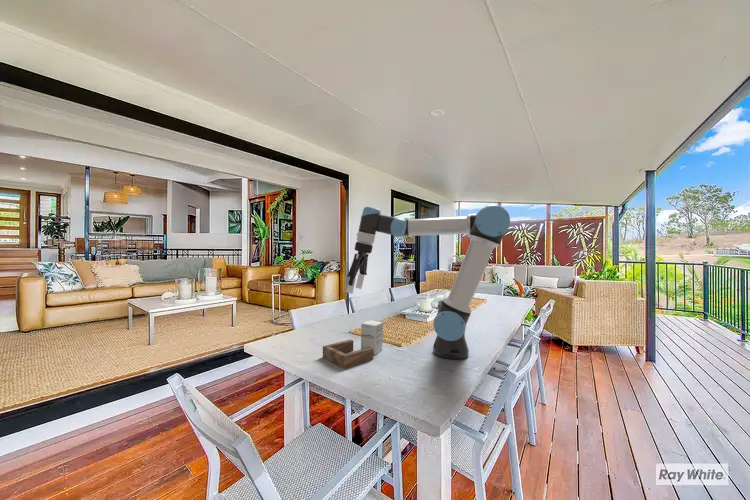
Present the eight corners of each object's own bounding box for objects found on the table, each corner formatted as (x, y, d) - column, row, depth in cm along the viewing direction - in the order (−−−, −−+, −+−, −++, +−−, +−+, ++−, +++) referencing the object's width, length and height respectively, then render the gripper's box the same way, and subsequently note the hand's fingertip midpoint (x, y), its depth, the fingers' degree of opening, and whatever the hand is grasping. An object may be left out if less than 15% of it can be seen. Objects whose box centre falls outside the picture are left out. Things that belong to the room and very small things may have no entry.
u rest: (373, 359, 118) (373, 348, 118) (344, 368, 109) (344, 356, 109) (350, 349, 129) (350, 339, 129) (322, 357, 120) (322, 346, 120)
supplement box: (360, 352, 126) (360, 323, 126) (368, 347, 133) (369, 319, 133) (375, 355, 123) (375, 325, 123) (382, 350, 130) (383, 321, 130)
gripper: (364, 241, 138) (354, 284, 139) (347, 240, 114) (336, 292, 115) (379, 245, 137) (369, 288, 138) (365, 244, 112) (353, 297, 114)
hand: (354, 290), depth 126 cm, fingers open, 13 cm apart
